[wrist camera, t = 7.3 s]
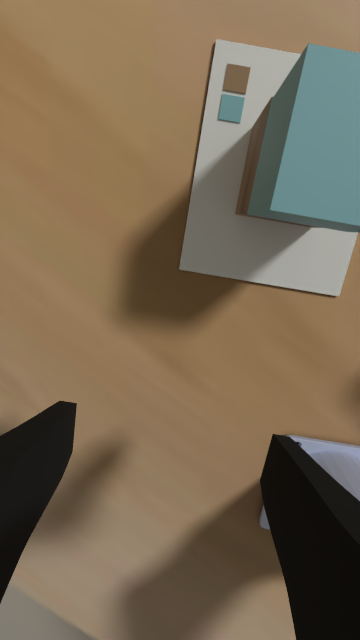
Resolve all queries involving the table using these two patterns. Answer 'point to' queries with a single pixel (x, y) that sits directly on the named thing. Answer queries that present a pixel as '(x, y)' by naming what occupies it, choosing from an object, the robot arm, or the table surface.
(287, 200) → the brick teal
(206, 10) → the table surface
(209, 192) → the baseplate
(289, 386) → the table surface
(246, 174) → the brick walnut
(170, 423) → the table surface
